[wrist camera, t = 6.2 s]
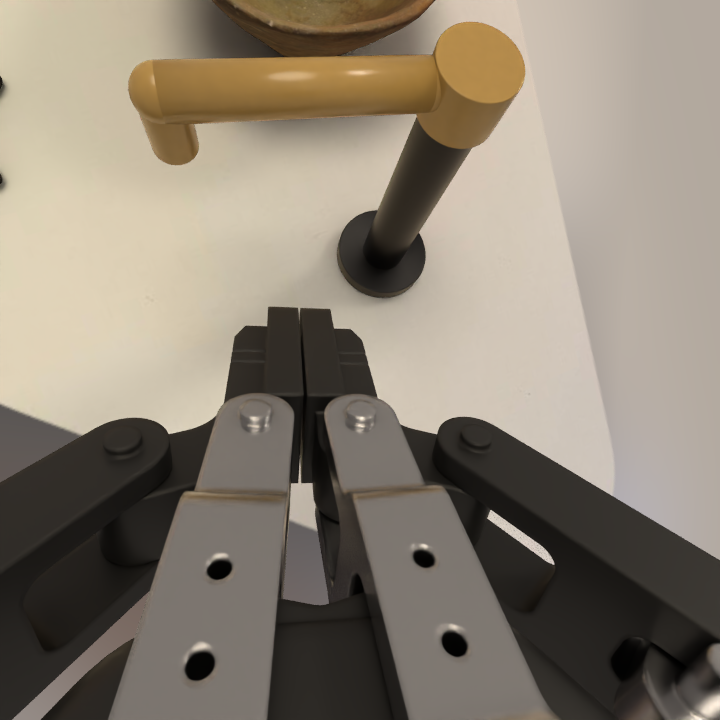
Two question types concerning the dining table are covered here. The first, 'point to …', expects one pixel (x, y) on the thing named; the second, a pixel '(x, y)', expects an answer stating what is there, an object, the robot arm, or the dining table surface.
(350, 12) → the bowl
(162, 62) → the spout
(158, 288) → the dining table surface
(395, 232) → the black post with base
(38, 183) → the dining table surface
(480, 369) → the dining table surface
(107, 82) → the dining table surface
